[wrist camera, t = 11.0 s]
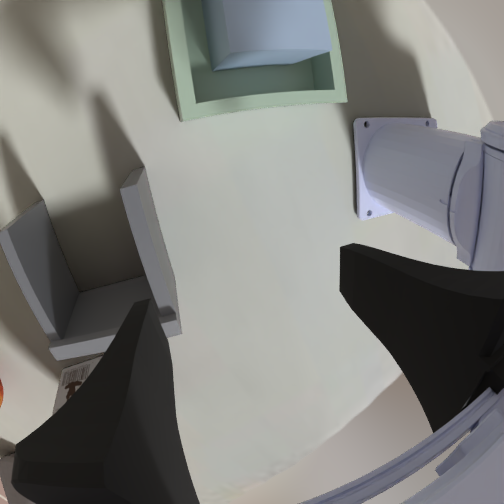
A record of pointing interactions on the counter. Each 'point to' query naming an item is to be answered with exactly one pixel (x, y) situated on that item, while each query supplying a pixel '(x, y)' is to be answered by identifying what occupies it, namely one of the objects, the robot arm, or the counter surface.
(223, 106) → the tray
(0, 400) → the fruit
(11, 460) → the coffee pot
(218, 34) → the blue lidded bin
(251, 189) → the counter surface
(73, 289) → the printer bay
